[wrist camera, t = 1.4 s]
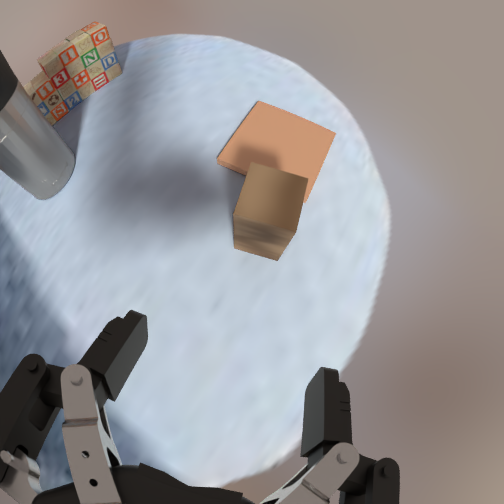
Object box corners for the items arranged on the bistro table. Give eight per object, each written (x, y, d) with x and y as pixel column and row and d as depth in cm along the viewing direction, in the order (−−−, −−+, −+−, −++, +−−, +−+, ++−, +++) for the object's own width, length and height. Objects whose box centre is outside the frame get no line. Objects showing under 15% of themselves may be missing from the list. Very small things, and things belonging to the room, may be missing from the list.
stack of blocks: (33, 145, 33) (-2, 106, 21) (27, 130, 34) (-3, 94, 22) (123, 73, 38) (106, 24, 26) (111, 64, 39) (94, 20, 27)
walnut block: (234, 248, 30) (233, 213, 21) (246, 208, 32) (251, 162, 22) (277, 260, 30) (296, 232, 21) (287, 220, 32) (308, 178, 22)
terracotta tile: (217, 163, 33) (217, 158, 32) (258, 106, 36) (258, 100, 35) (305, 203, 32) (307, 198, 31) (333, 138, 35) (336, 133, 34)
